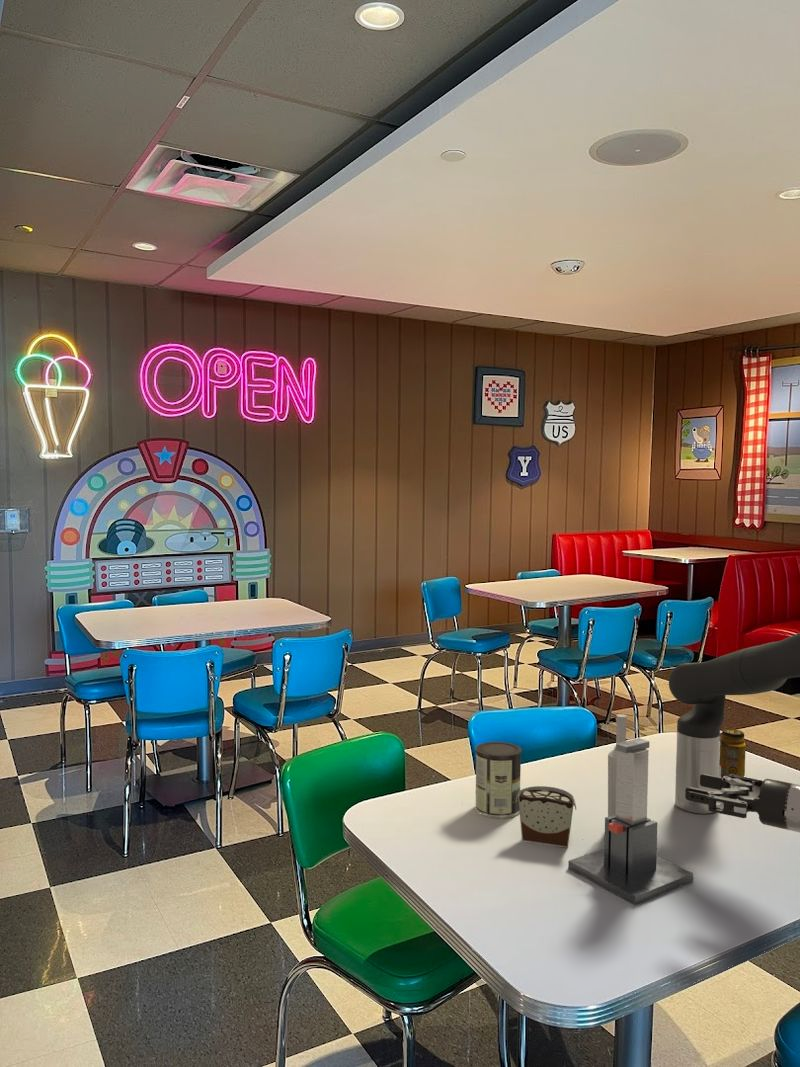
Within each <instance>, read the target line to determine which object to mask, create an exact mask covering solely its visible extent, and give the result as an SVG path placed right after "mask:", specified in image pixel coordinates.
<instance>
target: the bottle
mask: <svg viewBox="0 0 800 1067" xmlns="http://www.w3.org/2000/svg"><path fill="white" fill-rule="evenodd" d="M627 718H628V717H627V715H626V714H620V713H619V714H617V715H616V720H615V722H616V733H615V734H616V736H615V737H616V738H615V740H616V741H615V746H614V748H613V749H612V750H611V751H609V752H608V754H607V817H608V816H612V815H615V814H616V774H617V750H616V744H617V743H621V742H625V741H627V722H628V721H627Z"/></svg>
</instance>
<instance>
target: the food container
mask: <svg viewBox="0 0 800 1067" xmlns="http://www.w3.org/2000/svg"><path fill="white" fill-rule="evenodd" d="M517 801H519V812H520V813H519V820H520V821H519V822H520V823H519V824H520V832H521V842H526V843H533V844H540V845H545V846H546V845H547V846H553V847H559V848H569V843H570V835H571V828H572V818H573V813H574V812H573V811H574V809H575V811H577V805H576V801H575V798H574V795H573V794H572V793H571V792H569V791H566V790H564V789H561V788H558V787H554V786H547V785H546V786H544V785H538V786H537V785H536V786H535V785H534V786H527V787H525V788H522V789H520V791H519V792H518V795H517V797H516V802H517Z"/></svg>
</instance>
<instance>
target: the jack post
mask: <svg viewBox="0 0 800 1067" xmlns="http://www.w3.org/2000/svg"><path fill="white" fill-rule="evenodd" d="M615 746H616V750H617V774H616V818H615V819H616V820H618V821H620V822H622V823H624V824H627V825H629V826H630V828H631V827H634V826H638V825H641V824H644V823H647V818H648V794H649V793H648V784H649V754H650V753H649V751H650V750H649V749H650V740H645V739H643V738H640V737H638V738H634V739H631V740H626V741H625V742H621V743H617V744H616V743H615Z"/></svg>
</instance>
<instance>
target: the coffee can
mask: <svg viewBox="0 0 800 1067" xmlns="http://www.w3.org/2000/svg"><path fill="white" fill-rule="evenodd" d="M475 753H476V754H475V806H476V807H475V808H476V809H475V811H476V810H477V811H478V812H479V813H481V814H483V815H482V816H484V815H485V816H484V817H487V816H489V817H488V818H490V817H493V818H492V819H509V818H513V817H516V816H518V815H520V812H519V801H517V802H516V797H517V795H518V792H519V791H520V790H521V774H522V773H521V768H522V767H521V766H522V764H521V762H522V761H521V760H522V759H521V758H522V755H521V754H522V748H521V747H520V746H519V745H517V744H514V743H510V742H505V741H488V742H482V743H479V744H478V745H476V746H475ZM477 811H476V812H477ZM478 812H477V813H478ZM479 813H478V814H479ZM481 814H480V815H481Z"/></svg>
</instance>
